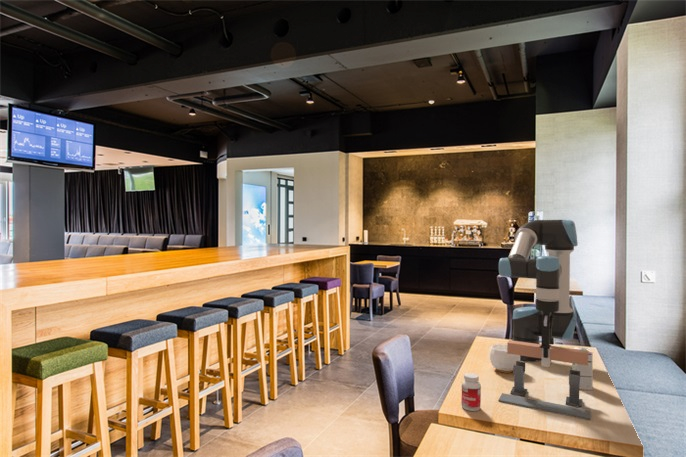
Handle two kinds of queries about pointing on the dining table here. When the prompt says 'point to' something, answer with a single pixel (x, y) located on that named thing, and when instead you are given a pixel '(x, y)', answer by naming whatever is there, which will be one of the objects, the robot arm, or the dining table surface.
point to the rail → (555, 352)
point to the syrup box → (585, 371)
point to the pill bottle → (471, 392)
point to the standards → (573, 384)
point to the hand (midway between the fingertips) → (546, 364)
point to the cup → (502, 358)
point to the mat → (546, 406)
